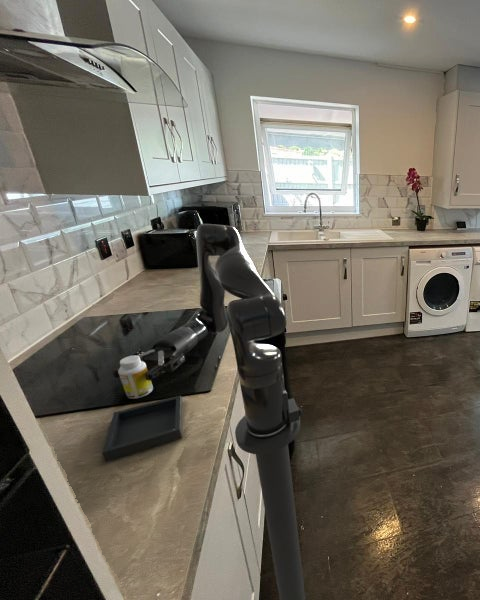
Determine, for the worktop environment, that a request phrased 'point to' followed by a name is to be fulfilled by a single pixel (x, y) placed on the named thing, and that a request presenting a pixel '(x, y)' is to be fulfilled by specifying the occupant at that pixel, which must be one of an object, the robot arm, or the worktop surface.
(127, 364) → the supplement bottle
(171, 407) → the shallow tray
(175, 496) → the worktop surface
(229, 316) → the robot arm
